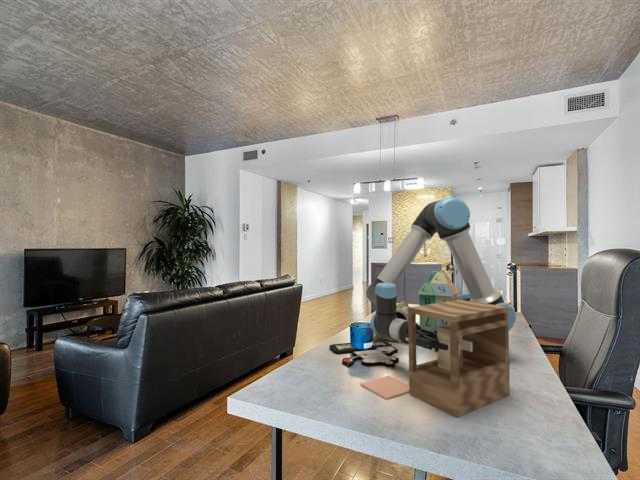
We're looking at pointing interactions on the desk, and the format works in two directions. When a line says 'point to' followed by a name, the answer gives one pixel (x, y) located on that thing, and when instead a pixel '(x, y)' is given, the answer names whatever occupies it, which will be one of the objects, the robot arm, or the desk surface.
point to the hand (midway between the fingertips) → (465, 348)
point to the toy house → (436, 296)
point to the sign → (368, 354)
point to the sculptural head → (398, 316)
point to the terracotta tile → (386, 387)
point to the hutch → (478, 366)
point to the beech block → (444, 356)
